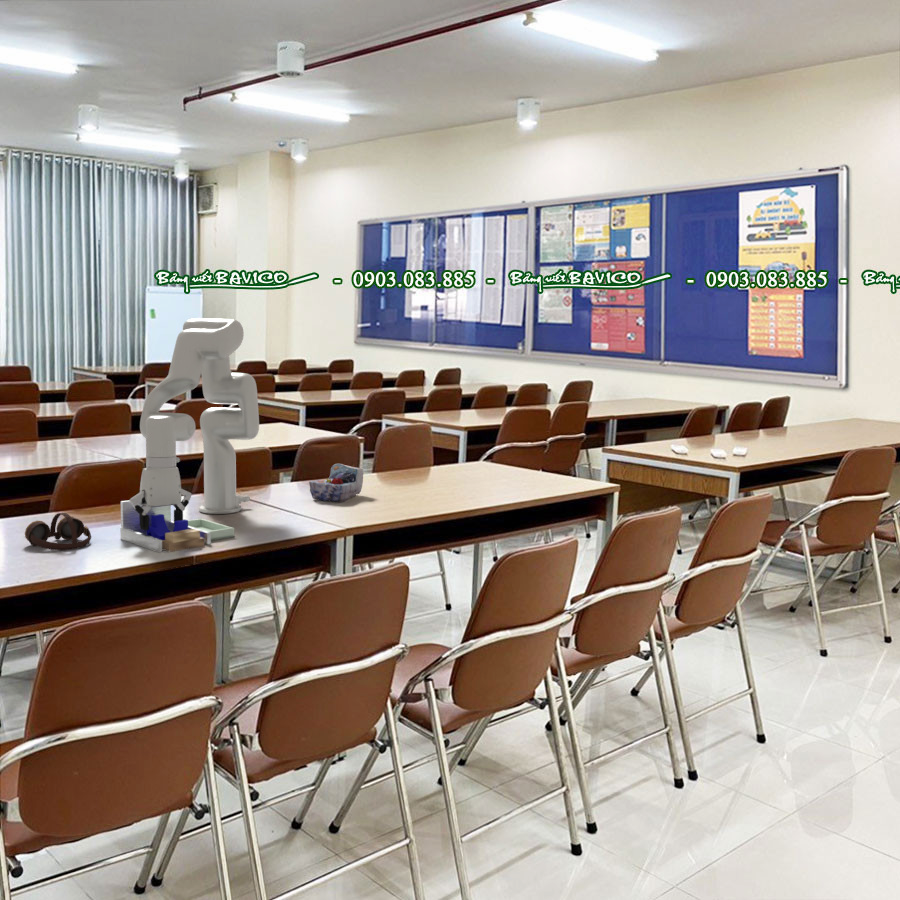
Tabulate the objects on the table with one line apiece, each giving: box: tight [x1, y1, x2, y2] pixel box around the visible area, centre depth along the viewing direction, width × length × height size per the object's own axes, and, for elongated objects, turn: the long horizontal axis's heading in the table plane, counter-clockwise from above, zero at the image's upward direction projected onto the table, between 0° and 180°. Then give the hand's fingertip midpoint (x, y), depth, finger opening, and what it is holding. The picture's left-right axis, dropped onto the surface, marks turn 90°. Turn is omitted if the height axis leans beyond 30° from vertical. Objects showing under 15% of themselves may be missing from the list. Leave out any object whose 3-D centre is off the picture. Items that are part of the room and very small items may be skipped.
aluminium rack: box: [120, 499, 212, 553], centre depth 268 cm, size 15×21×10 cm
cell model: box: [308, 463, 364, 503], centre depth 337 cm, size 13×11×20 cm
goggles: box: [24, 512, 92, 551], centre depth 262 cm, size 15×13×10 cm
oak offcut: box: [165, 529, 200, 543], centre depth 262 cm, size 8×4×2 cm, turn 138°
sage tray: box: [187, 518, 235, 542], centre depth 278 cm, size 9×17×2 cm, turn 45°
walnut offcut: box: [162, 537, 205, 553], centre depth 263 cm, size 10×4×2 cm, turn 135°
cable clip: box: [147, 514, 188, 540], centre depth 271 cm, size 12×4×6 cm, turn 51°
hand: (161, 527), depth 269 cm, fingers open, 9 cm apart
